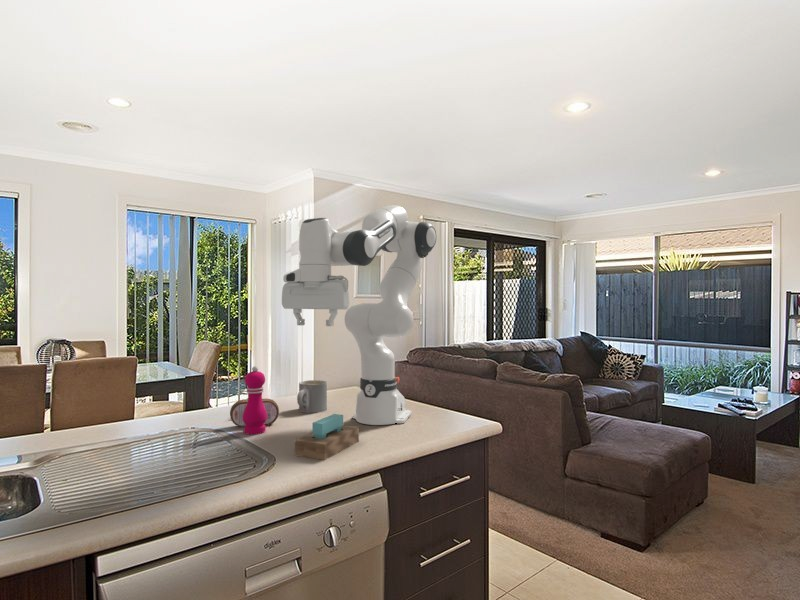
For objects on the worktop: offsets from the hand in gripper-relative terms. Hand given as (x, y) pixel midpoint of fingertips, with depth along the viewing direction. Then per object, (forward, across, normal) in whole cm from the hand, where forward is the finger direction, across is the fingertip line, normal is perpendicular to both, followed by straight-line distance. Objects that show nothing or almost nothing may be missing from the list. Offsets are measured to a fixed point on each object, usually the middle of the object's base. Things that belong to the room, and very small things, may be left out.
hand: (315, 325), depth 139 cm
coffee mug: (+33, +25, -35) cm, 54 cm away
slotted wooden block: (+33, -5, +1) cm, 33 cm away
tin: (+33, +29, -10) cm, 45 cm away
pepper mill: (+33, +24, -4) cm, 41 cm away
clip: (+33, -5, +1) cm, 33 cm away
